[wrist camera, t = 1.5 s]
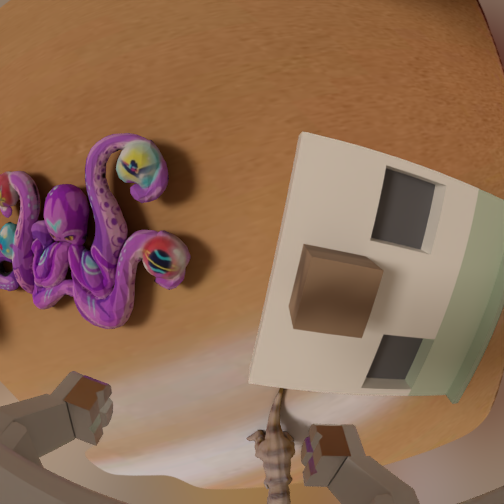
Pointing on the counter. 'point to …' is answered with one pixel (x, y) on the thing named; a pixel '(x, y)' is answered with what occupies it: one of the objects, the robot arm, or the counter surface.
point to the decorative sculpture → (75, 231)
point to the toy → (275, 455)
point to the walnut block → (333, 292)
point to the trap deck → (386, 275)
